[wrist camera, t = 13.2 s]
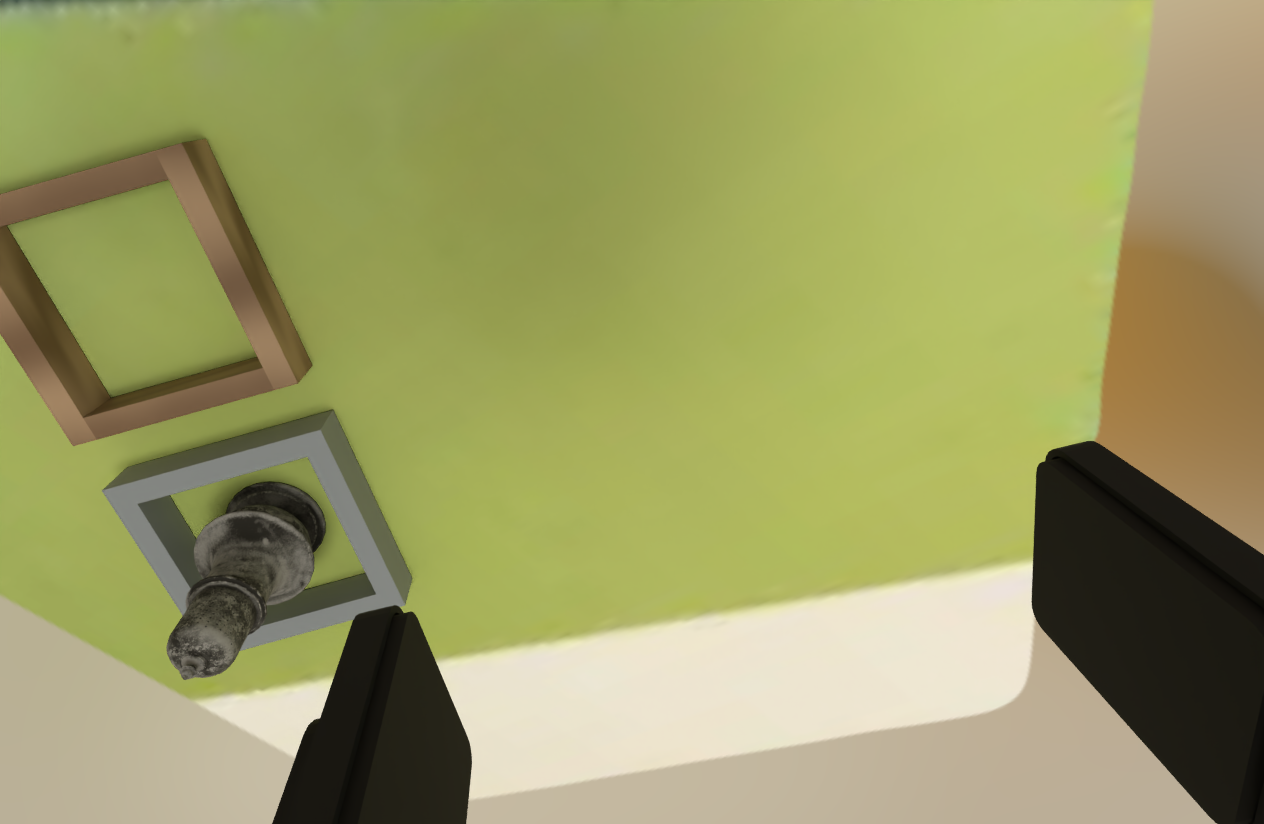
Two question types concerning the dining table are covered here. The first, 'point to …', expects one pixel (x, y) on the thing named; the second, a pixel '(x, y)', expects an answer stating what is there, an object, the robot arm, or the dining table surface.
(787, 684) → the dining table surface
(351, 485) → the grey holder
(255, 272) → the walnut holder
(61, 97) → the dining table surface
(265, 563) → the dark grey turned piece
